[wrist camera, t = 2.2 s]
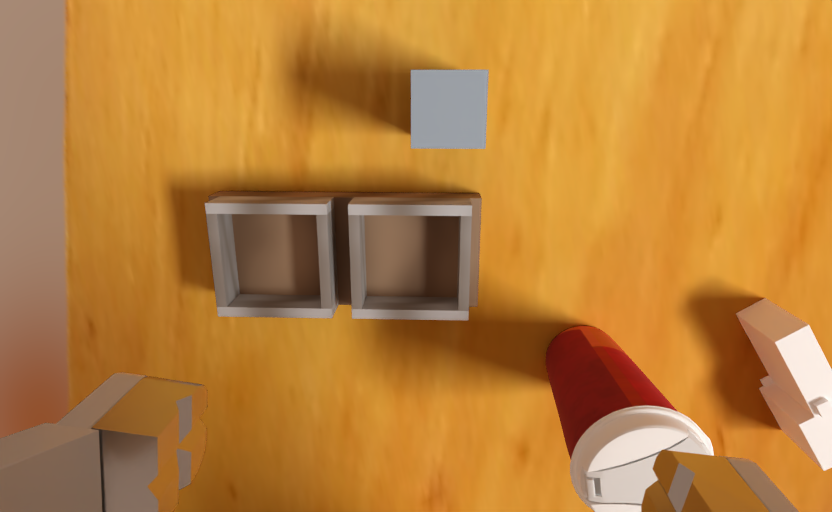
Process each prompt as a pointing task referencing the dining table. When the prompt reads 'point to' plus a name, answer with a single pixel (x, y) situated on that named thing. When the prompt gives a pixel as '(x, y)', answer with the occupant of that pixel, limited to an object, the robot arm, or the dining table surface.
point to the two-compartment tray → (345, 254)
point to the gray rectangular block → (449, 109)
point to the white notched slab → (793, 377)
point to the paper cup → (613, 420)
